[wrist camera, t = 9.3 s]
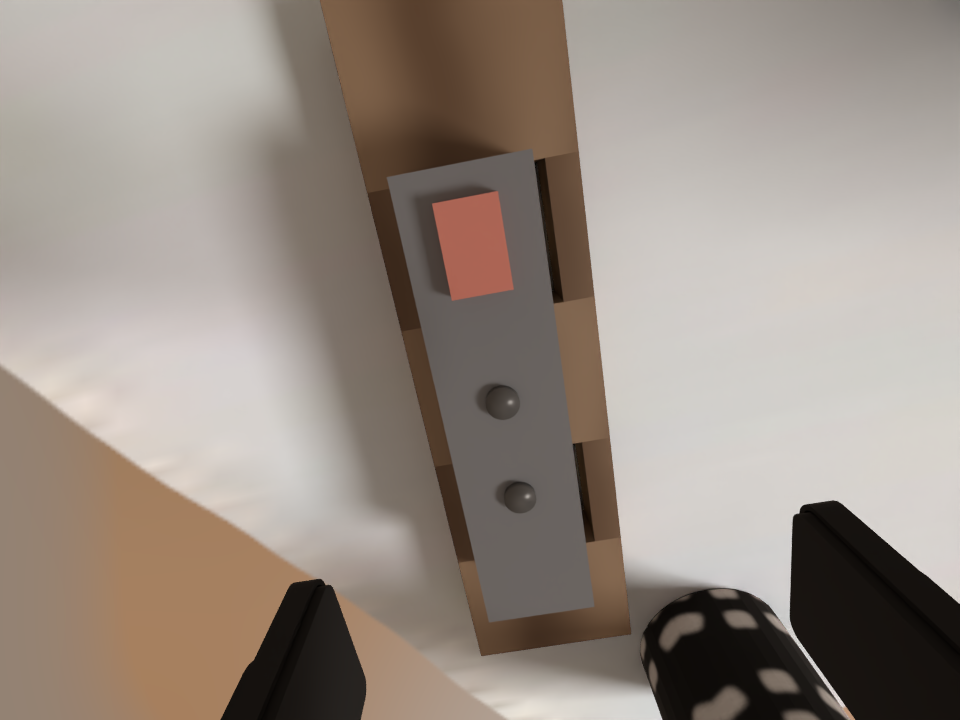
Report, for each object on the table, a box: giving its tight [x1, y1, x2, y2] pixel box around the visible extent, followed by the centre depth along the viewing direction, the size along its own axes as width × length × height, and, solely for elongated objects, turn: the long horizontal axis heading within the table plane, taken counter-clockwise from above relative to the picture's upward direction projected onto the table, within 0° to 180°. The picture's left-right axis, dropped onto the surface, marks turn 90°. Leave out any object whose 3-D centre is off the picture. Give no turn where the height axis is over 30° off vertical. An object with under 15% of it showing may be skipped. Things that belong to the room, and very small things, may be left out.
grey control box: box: [387, 149, 595, 622], centre depth 20 cm, size 4×18×7 cm, turn 10°
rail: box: [320, 0, 631, 656], centre depth 22 cm, size 8×30×2 cm, turn 10°
